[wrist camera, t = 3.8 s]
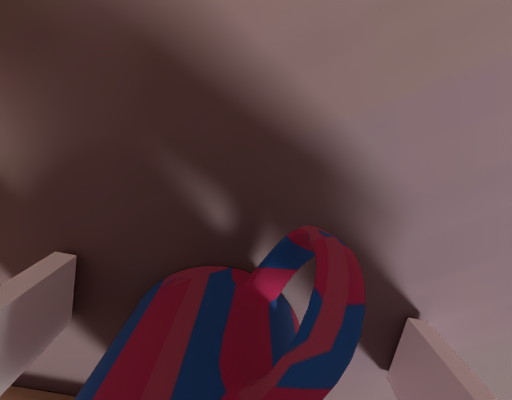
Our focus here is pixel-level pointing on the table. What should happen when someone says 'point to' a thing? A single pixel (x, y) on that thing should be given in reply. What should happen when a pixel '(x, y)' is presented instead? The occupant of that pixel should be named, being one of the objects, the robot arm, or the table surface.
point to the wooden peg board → (32, 394)
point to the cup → (239, 331)
